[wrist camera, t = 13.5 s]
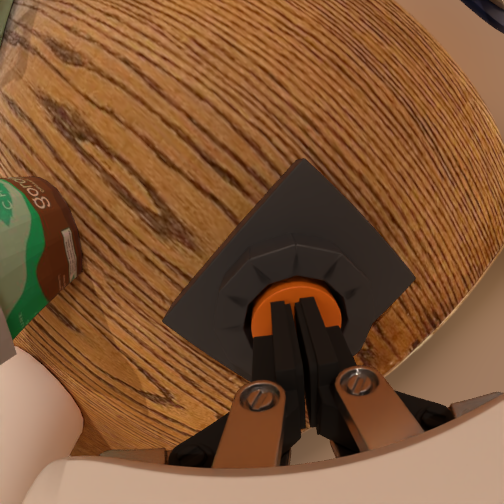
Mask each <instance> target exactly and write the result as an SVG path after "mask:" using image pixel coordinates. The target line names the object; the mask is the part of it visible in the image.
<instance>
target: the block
mask: <svg viewBox="0 0 504 504" xmlns="http://www.w3.org/2000/svg"><path fill="white" fill-rule="evenodd" d="M294 276H301V277H307V278H312V279H318V280H323V281H324V282H325V283H326V284H327V286H328V287H329V289H330V291H331V293H332V295H333V297H334V299H335V301H336V303H337V305H338V307H339V309H340V312H341V318H342V322H341V331H342V334H343V336H344V338H345V340H346V342H347V345H348V347H349V349H350V351H351V354H352V356H354V355H355V354H357V353H358V352H359V351H360V349H361V348H362V346H363V344H364V342H365V339H366V337H367V335H368V333H369V330H370V328H371V326H372V323H373V322H374V321H375V320H376V319H377V318H378V317H379V316H380V315H381V314H382V313H384V312H385V311H386V310H387V309H388V308H389V307H390V306H391V305H392V304H393V302H394V301H395V300H396V299H397V298H398V297H399V296H400V295H401V294H402V293H403V292H404V291H405V290H406V289H407V288H408V287H409V286H410V285H411V283H412V282H413V281H414V280H415V279H416V277H415V276H414V275H413V273H412V272H411V271H410V270H409V268H408V267H407V266H406V265H405V263H404V262H403V261H402V260H401V259H400V257H399V256H398V255H397V254H396V253H395V251H394V250H393V249H392V248H391V247H390V245H389V244H388V243H387V242H386V241H385V240H384V239H383V237H382V236H381V235H380V234H379V233H378V232H377V231H376V230H375V228H374V227H373V226H372V225H371V224H370V223H369V222H368V221H367V220H366V219H365V217H364V216H363V215H362V214H361V213H360V212H359V211H358V210H357V209H356V208H355V207H354V206H353V205H352V204H351V203H350V202H349V201H348V200H347V199H346V198H345V197H344V196H343V195H342V194H341V193H340V192H339V191H338V190H337V189H336V188H335V187H334V186H333V185H332V184H331V183H330V182H329V181H328V180H327V179H326V178H325V177H324V176H323V175H322V174H321V173H320V172H319V171H318V170H317V169H316V168H315V167H314V166H313V165H311V164H310V163H309V162H308V161H307V160H306V159H304V158H303V159H299V160H296V161H295V162H294V163H293V164H292V165H291V166H290V167H289V169H288V170H287V171H286V172H285V173H284V174H283V175H282V176H281V177H280V179H279V180H278V181H277V182H276V183H275V184H274V185H273V186H272V187H271V189H270V190H269V191H268V192H267V193H266V194H265V195H264V196H263V198H262V199H261V200H260V201H259V202H258V203H257V204H256V205H255V207H254V208H253V209H252V210H251V211H250V212H249V213H248V215H247V216H246V217H245V218H244V219H243V220H242V221H241V223H240V224H239V225H238V226H237V227H236V228H235V229H234V231H233V232H232V233H231V234H230V235H229V236H228V238H227V239H226V240H225V241H224V242H223V243H222V245H221V246H220V247H219V248H218V249H217V250H216V252H215V253H214V254H213V255H212V256H211V257H210V259H209V260H208V261H207V262H206V263H205V264H204V266H203V267H202V268H201V269H200V270H199V272H198V273H197V274H196V275H195V276H194V278H193V279H192V280H191V281H190V282H189V284H188V285H187V286H186V287H185V288H184V290H183V291H182V292H181V293H180V294H179V296H178V297H177V298H176V299H175V300H174V302H173V303H172V305H171V307H170V308H169V310H168V312H167V313H166V315H165V317H164V318H163V320H162V322H163V323H164V324H166V325H167V326H168V327H170V328H171V329H172V330H174V331H175V332H177V333H178V334H179V335H181V336H182V337H183V338H185V339H186V340H188V341H189V342H190V343H192V344H193V345H195V346H196V347H197V348H199V349H200V350H202V351H203V352H205V353H206V354H208V355H209V356H211V357H212V358H214V359H215V360H217V361H218V362H220V363H221V364H223V365H224V366H226V367H227V368H229V369H231V370H232V371H234V372H235V373H237V374H238V375H240V376H242V377H243V378H245V379H247V380H248V381H250V382H252V361H253V336H252V331H251V321H252V305H253V300H254V299H255V298H256V296H257V295H258V294H259V293H260V292H261V291H262V290H263V289H264V288H265V287H266V286H267V285H269V284H272V283H275V282H278V281H281V280H285V279H288V278H291V277H294Z"/></svg>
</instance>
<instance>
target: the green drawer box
mask: <svg viewBox="0 0 504 504" xmlns="http://www.w3.org/2000/svg"><path fill="white" fill-rule="evenodd" d="M13 1H14V0H13ZM13 1H12V3H13ZM11 6H12V4H11ZM10 9H11V7H10ZM9 12H10V10H9ZM8 16H9V13H8ZM8 16H7V19H8ZM6 22H7V20H6ZM5 26H6V23H5ZM5 26H4V29H5ZM3 33H4V30H3ZM2 37H3V34H2V36H1V37H0V46H1V41H2Z"/></svg>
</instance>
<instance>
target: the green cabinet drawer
mask: <svg viewBox="0 0 504 504" xmlns="http://www.w3.org/2000/svg"><path fill="white" fill-rule="evenodd" d="M12 1H13V0H0V37H1V36H2V34H3V30H4V26H5V23H6V20H7V16H8V13H9V10H10V7H11V4H12Z"/></svg>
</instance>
